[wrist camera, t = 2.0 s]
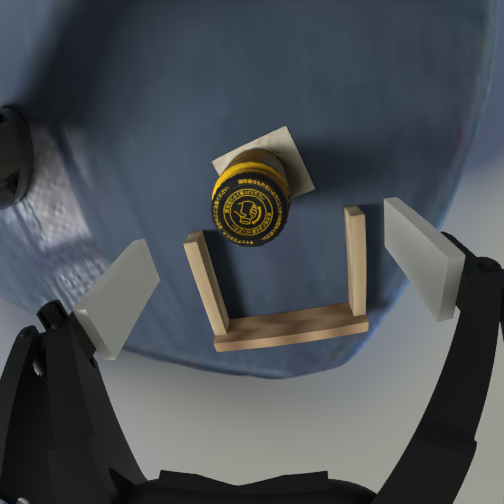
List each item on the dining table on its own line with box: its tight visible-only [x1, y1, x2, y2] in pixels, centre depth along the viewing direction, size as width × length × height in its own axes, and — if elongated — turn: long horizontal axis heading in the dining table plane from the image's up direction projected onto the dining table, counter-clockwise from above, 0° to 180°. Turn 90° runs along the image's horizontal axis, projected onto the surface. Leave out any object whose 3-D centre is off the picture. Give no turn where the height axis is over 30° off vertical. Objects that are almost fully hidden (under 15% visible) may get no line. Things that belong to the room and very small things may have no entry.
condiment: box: [211, 126, 315, 247], centre depth 24 cm, size 7×8×12 cm
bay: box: [184, 205, 369, 352], centre depth 33 cm, size 19×14×4 cm
